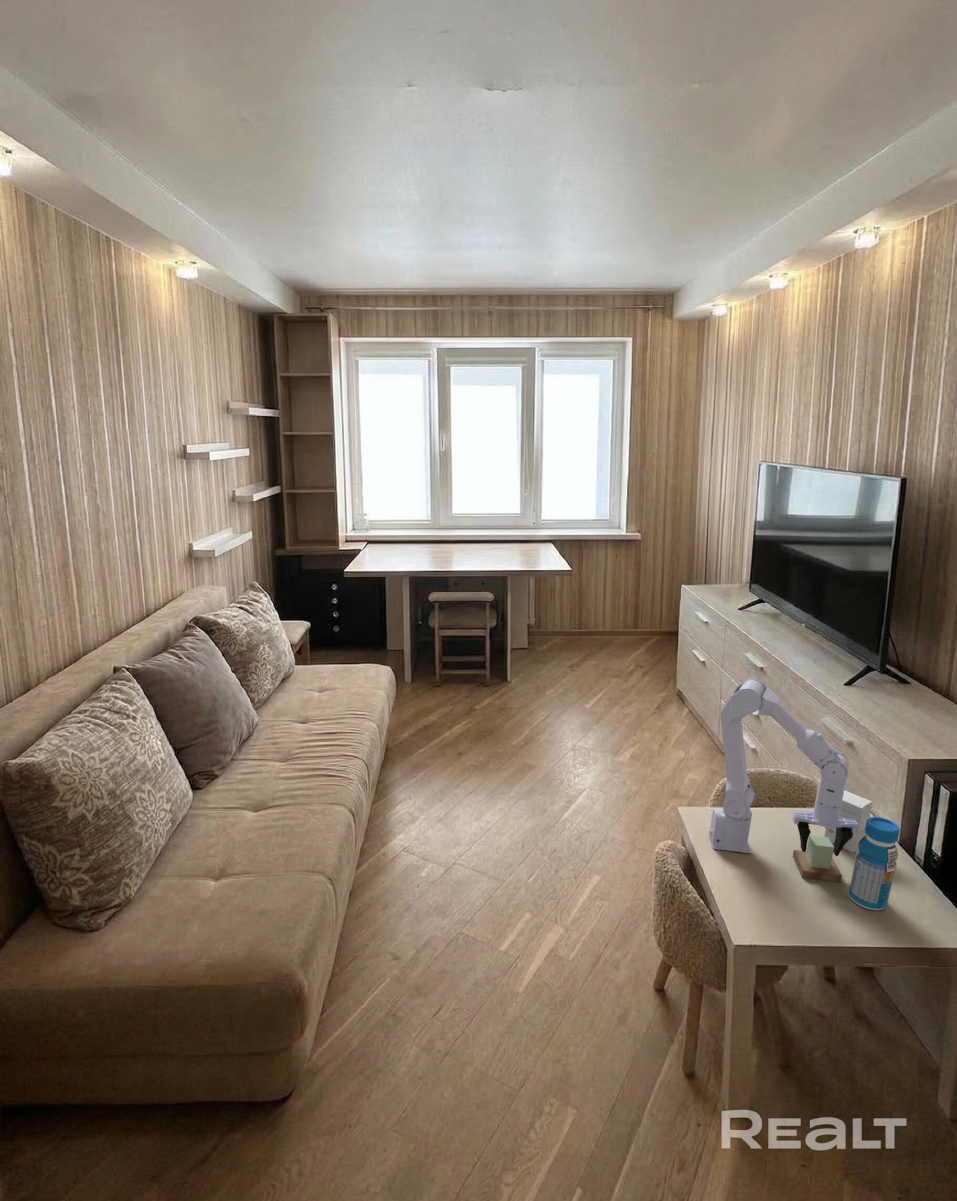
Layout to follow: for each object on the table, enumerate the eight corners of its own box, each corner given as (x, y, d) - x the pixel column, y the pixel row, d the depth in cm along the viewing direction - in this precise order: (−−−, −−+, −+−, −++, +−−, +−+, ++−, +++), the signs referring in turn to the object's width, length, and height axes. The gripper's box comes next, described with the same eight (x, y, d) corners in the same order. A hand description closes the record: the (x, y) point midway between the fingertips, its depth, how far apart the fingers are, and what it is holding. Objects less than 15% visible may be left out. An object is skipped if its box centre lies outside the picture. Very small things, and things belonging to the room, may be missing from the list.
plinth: (801, 877, 185) (803, 870, 184) (792, 856, 193) (793, 849, 193) (840, 882, 184) (841, 875, 183) (829, 861, 192) (830, 854, 192)
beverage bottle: (852, 908, 174) (868, 830, 169) (843, 886, 182) (858, 811, 177) (892, 915, 172) (909, 836, 167) (881, 893, 180) (898, 817, 175)
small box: (864, 845, 200) (873, 801, 197) (853, 853, 196) (862, 808, 193) (834, 832, 206) (842, 788, 203) (822, 839, 202) (831, 795, 199)
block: (810, 866, 186) (815, 845, 184) (805, 856, 190) (809, 835, 189) (830, 869, 185) (834, 847, 184) (824, 858, 190) (828, 837, 188)
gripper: (801, 806, 181) (792, 856, 184) (865, 814, 179) (855, 865, 183) (794, 792, 188) (785, 841, 191) (855, 799, 186) (846, 848, 189)
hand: (819, 851), depth 187 cm, fingers open, 7 cm apart
